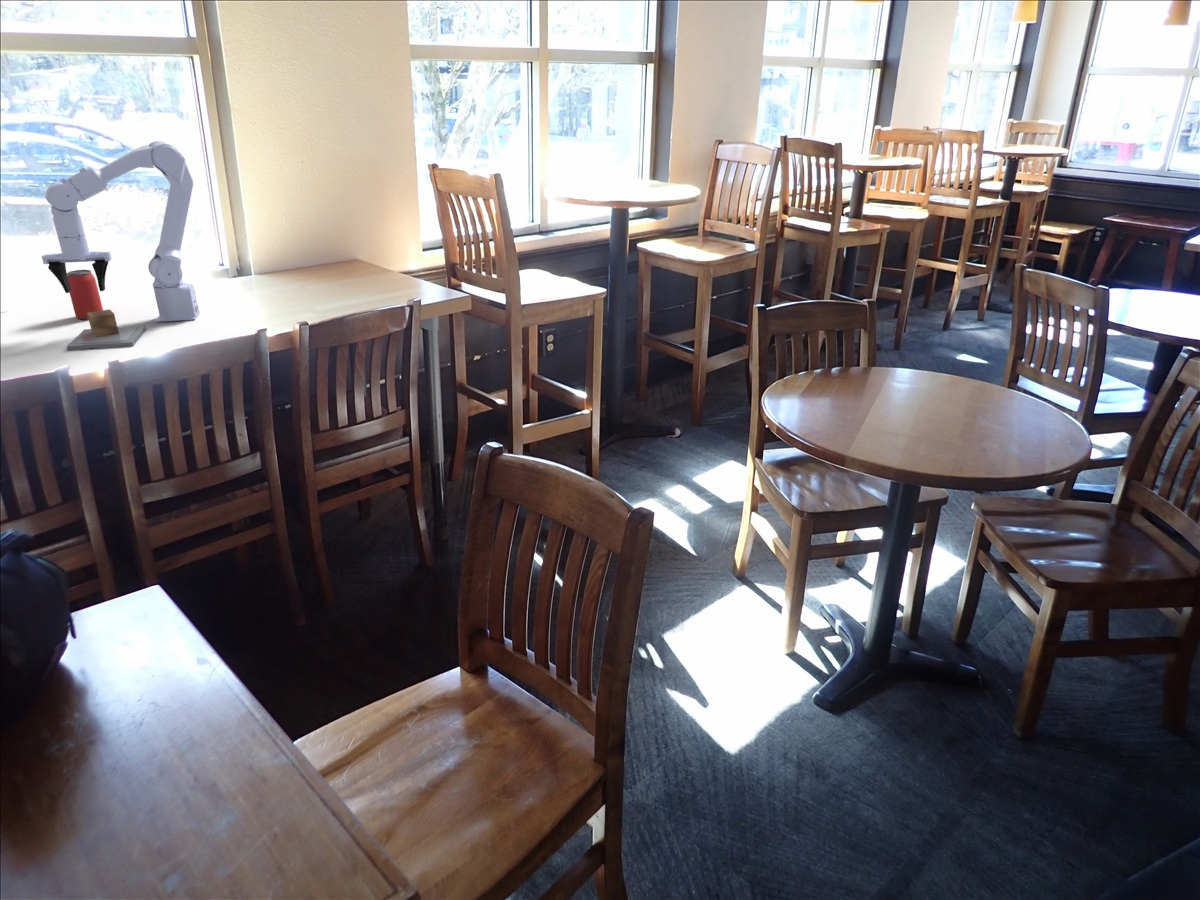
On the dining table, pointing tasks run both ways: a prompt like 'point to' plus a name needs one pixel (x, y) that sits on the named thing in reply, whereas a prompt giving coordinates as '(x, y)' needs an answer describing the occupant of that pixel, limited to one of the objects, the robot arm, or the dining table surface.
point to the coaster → (108, 338)
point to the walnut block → (103, 323)
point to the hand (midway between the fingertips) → (85, 291)
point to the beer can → (84, 293)
